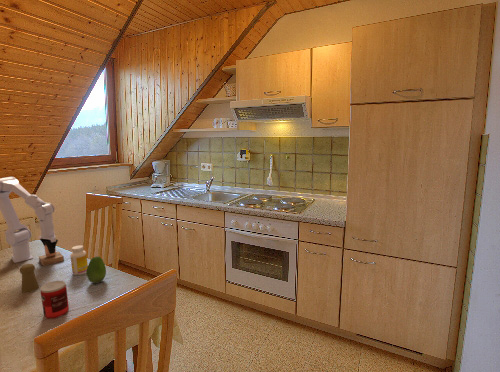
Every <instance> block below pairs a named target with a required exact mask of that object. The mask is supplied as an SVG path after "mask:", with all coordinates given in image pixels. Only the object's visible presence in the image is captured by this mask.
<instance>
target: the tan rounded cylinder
mask: <svg viewBox="0 0 500 372" xmlns="http://www.w3.org/2000/svg"><path fill="white" fill-rule="evenodd" d="M43 248H44V255H46V256H47V257H49V256H54V255H56V252H57V250H56V249H57V248H55V253H52V254H50V253H49V250H48V247H47V245H43Z"/></svg>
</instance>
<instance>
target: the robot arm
mask: <svg viewBox="0 0 500 372" xmlns="http://www.w3.org/2000/svg"><path fill="white" fill-rule="evenodd" d="M11 193H14V194H16V195H17V196H19V197H20V198H22V199H23V200H24V203H25V204H26V205H27V206H28V207H30V208H32V209H33V210H34V214H35V215H36V217H37V219H38V221H39V229H40V234H41V235H40V236H38V239H39V240H40V241H41V243H42V245H43V246H44V245H47V247H48V250H49V253H50V254H52V253H55V248H56V247H57V244H58V241H59V240H58V239H57V238H56V232H55V225H54V218H53V213H54V212H55V207H54V206H55V205H53V204H52V203H51V202H47V201H45V200H43V199H41V198H40V197H39V196H38V195H37V194H31V193H30V192H29V191H27V189H25V187H23V186H22V185H21V184H20V182H19V179H17V178H16V177H14V176H7V177H5V176H4V177H1V178H0V212H1V215H2V216H3V219H4V221H5V223H6V224H5V225H7V229H6V230H5V232H4V235H5V241H6V243H7V244H8V245H9V246H11V249H12V250H11V251H12V256H11V257H10V258H11V260H12V262H13V263H15V264H17V263H20V262H23V261H28V260H31V259H34V256H33V255H32V254H31V250H30V248H31V247H30V243H29V242H30V241H31V240H30V239H31V238H32V236H33V235H32V232H31V230H30V229H29V228H28V226H27V225H25V224H23V223H21V220H20V218H19V216H18V214H17V212H16V209H15V207H14V205H13V203H12V201H11V199H10V197H9V196H10V194H11ZM56 249H57V248H56Z"/></svg>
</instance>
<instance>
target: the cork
mask: <svg viewBox="0 0 500 372" xmlns="http://www.w3.org/2000/svg"><path fill="white" fill-rule="evenodd" d="M35 270H36V266H35V264H33V263H27V264H23V265H21V266H20V267H19V273H20V274H21V293H25V294H29V293H33V292H35V291H36V290H38V289H40V286H39V283H38V280H37V276H36V273H35Z"/></svg>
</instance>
